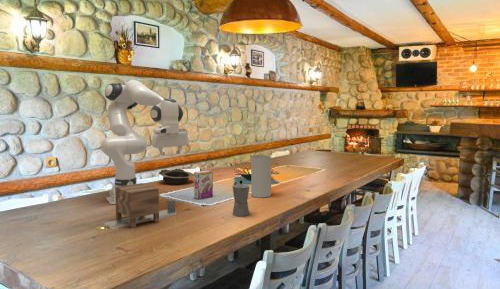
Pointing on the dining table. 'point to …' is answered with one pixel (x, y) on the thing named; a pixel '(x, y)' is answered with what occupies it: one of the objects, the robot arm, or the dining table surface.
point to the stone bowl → (175, 176)
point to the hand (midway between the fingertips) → (170, 154)
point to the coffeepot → (240, 199)
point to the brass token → (101, 227)
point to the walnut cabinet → (137, 202)
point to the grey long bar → (144, 217)
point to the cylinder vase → (261, 176)
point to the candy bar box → (203, 184)
